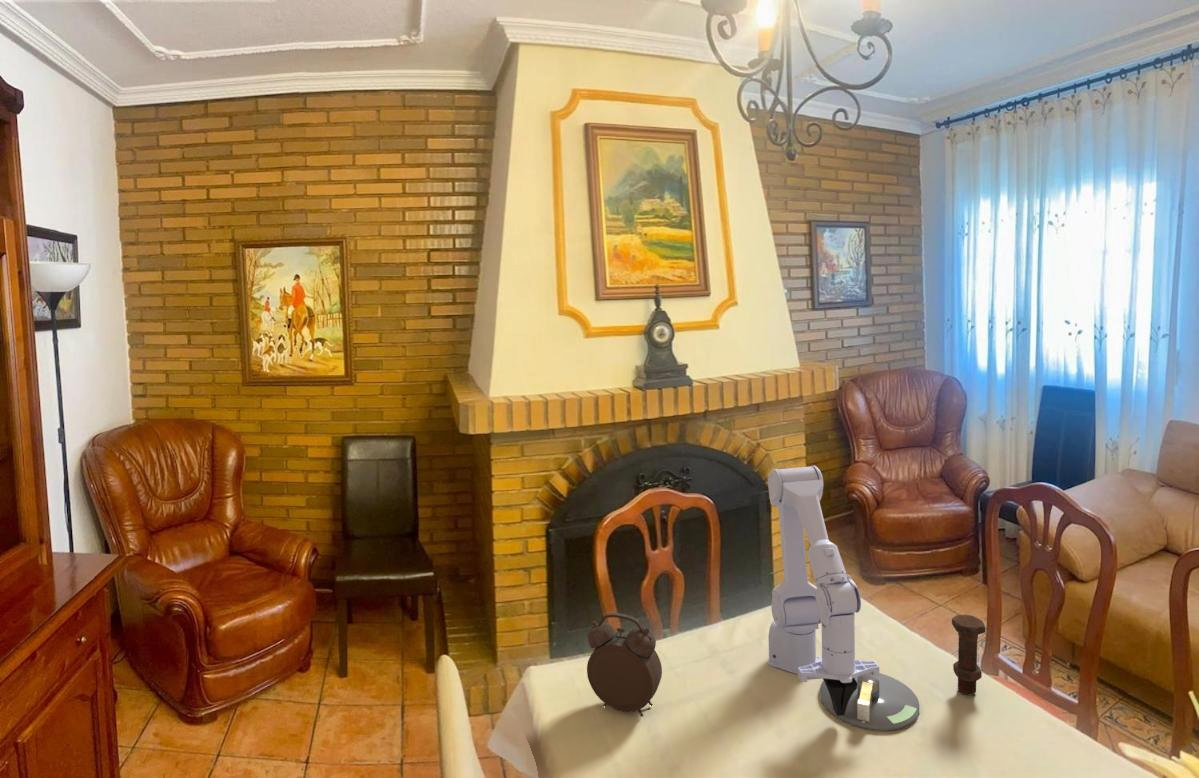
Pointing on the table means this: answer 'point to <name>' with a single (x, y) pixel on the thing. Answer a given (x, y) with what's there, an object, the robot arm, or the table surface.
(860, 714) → the peg lever
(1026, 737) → the table surface
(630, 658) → the alarm clock
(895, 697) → the dial plate
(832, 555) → the robot arm
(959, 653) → the bolt
